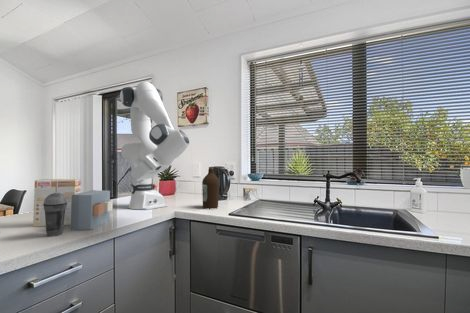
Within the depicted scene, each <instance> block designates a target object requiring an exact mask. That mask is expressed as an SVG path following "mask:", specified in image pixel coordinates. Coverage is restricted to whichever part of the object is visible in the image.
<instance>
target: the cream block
mask: <svg viewBox="0 0 470 313" xmlns="http://www.w3.org/2000/svg"><path fill="white" fill-rule="evenodd" d="M113 201H114V200H110V201H104V202H103V204H104V212H108V211H109V212H110V211H112V210H113Z"/></svg>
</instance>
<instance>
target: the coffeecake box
mask: <svg viewBox="0 0 470 313" xmlns="http://www.w3.org/2000/svg"><path fill="white" fill-rule="evenodd" d="M56 181H58V190H57V193H61V194H63V195H64V196H65V197H66V199H67V207H66V209H65V217H64V224H63V226H71V203H72V195H73V194H78V193H82V178H52V179H51V178H49V179H48V178H46V179H45V178H43V179H42V178H41V179H36V180H34V189H33V190H34V193H33V194H34V196H33V220H32V223H33V224H32V227H33V228H37V227H46V221H45V211H44V205H43V204H44V200H45V199H46V197H47V196H49V195H50V194H52V193H56Z"/></svg>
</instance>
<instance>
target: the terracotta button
mask: <svg viewBox="0 0 470 313" xmlns="http://www.w3.org/2000/svg"><path fill="white" fill-rule="evenodd" d="M103 213H104V204H95V205H93V215H101V214H103Z"/></svg>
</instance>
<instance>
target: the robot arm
mask: <svg viewBox="0 0 470 313" xmlns="http://www.w3.org/2000/svg"><path fill="white" fill-rule="evenodd" d="M163 96H164V95H163V93H162V91H161V90H160V89H158V88H156V87H155V86H154V84H153V83H152V82H148V81H141V82H139V83H138V84H137V85H136V86H132V87H130V86H125V87H123V88H122V89H120V93H119V99H120V102H121V103H122V105H123V106H124V107H126V108H127V107H128V108H130V112H129V113H130V115H129V116H130V117H129V118H130V129H131V130H130V131H131V134H132V135H134V136H135V137H137V138H138V139H139V141H140V142H128V143H124V145H123V146H122V147H121V150H120V155H121V157H122V158H123V159H124V160H125V161H127V162H128V165H129V166H130V170H131V173H130V177H131V178H132V180H131V186H130V192H131V193H130V194H131V195H130V200H129V203H128V204H129V205H128V209H130V210H131V209H132V210H147V211H148V210H154V209H159V208H164V207H168V206H169V204H168V203H167V202H165V198H164V195H163V194H162V193H160V192H159V191H157V190H156V189H155V188H158V184H156V183H155V184H154V183H153V179H155V177H156V176H157V175H158V174H159V173H160V172H164V171H165V170H166V169H167V168H169V166H170V165H172V163H173V162H174V160H175V159H177V158H179V157H180V156H181V155H182V154H183V153H184V151H186V149H187V148H188V147H189V145H190V139H189V137H188V135H187V134H186V133H185V132H184V131H183V130H182V129H176V128H175V127H174V125H173V123H172V121H171V118H170V117H169V115H168V112H167V111H166V108H165V106H164V104H163V101H164V98H163ZM151 120H152V121H153V123H155V125H154V126H153V127H152V123H151V122H152V121H151Z"/></svg>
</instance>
